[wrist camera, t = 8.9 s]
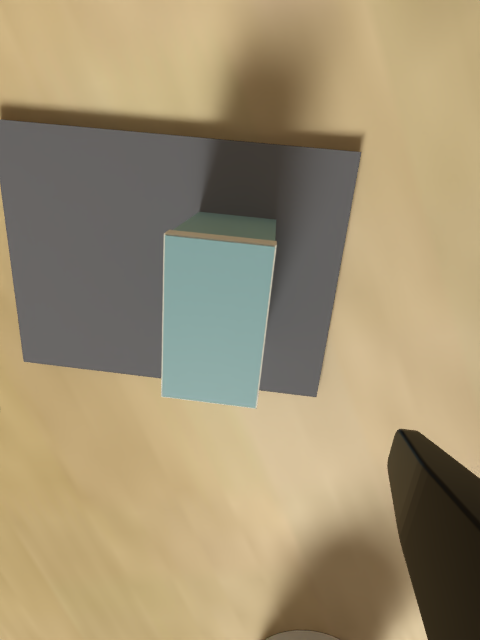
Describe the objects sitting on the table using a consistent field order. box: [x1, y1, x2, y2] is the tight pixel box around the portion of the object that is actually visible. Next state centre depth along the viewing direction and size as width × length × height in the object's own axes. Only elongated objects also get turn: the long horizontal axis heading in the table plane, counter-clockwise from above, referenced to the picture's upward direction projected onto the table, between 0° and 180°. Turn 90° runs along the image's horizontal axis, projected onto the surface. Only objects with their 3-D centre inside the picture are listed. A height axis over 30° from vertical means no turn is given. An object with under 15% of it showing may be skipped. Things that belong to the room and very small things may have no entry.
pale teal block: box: [161, 212, 277, 409], centre depth 17 cm, size 4×6×6 cm, turn 175°
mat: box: [0, 120, 361, 397], centre depth 20 cm, size 16×12×1 cm
